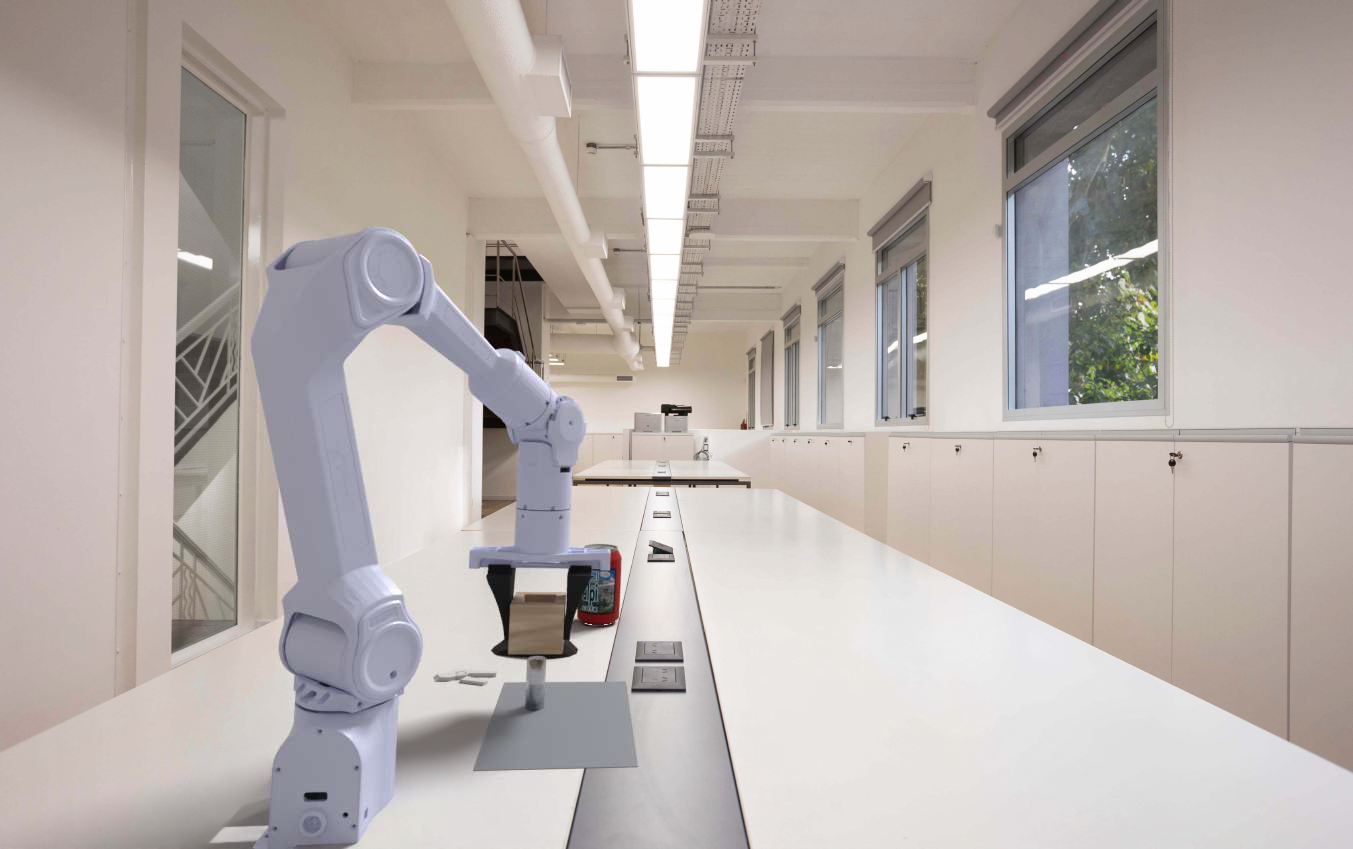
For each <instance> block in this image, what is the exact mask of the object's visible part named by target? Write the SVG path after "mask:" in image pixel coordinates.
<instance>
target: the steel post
mask: <svg viewBox="0 0 1353 849" xmlns="http://www.w3.org/2000/svg"><path fill="white" fill-rule="evenodd" d="M546 669H547V659H546V658H545V657H543V656H532V657H529V658H526V670H525V671H526V672H525V674H526V675H525V676H526V677H525V682H526V693H525V709H527V710H530V711H538V710H541V709H543V708H544V700H545V682H546V675H547V674H546V673H547V670H546Z"/></svg>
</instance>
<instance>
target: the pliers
mask: <svg viewBox="0 0 1353 849" xmlns="http://www.w3.org/2000/svg"><path fill="white" fill-rule="evenodd" d="M497 672H498V670H485V669H475V668H474V669H473V668H467V669H466V668H465V669H464V668H462V669H461V668H459V669H458V668H457V669H454V670H452V671H449V672H447V673H437V674H436V675H434V677H432V678H433V679H434V682H451V681H456V680H459V683H461V684H462V683H463V684H471V685H475V686H476V685H477V686H486V685H487V684H488V683H489V682H488V680H485V679H482V678H481V677H483V678H486V677H487V678H494V677H495V678H496V677H497V674H498V673H497ZM479 677H480V678H479Z"/></svg>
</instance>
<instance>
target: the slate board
mask: <svg viewBox="0 0 1353 849" xmlns="http://www.w3.org/2000/svg"><path fill="white" fill-rule="evenodd" d="M525 693H526V681H523V682H522V681H521V682H520V681H518V682H517V681H515V682H513V681H512V682H511V681H509V682H508V681H507V682H504V683H503V686H502V688H501V691H500V693H499V697H498V699H497V703H496V706H495V707H494V711H493V714H492V716H491V719H490V722H489V725H488V728H487V731H486V733H485V736H484V739H483V742H482V745H481V747H480V751H479V753H478V756H477V758H476V762H475V763H474V767H473V769H472V771H473V772H484V771H485V772H487V771H529V770H530V771H531V770H561V769H562V770H567V769H568V770H569V769H575V770H576V769H608V768H609V769H612V768H615V769H616V768H617V769H618V768H639V764H638V758H637V750H636V743H635V737H634V735H635V734H634V728H633V722H632V714H631V708H630V701H629V694H628V686H627V681H545V700H544V708H543V709H541V710H538V711H530V710H527V709H525Z"/></svg>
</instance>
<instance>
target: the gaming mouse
mask: <svg viewBox="0 0 1353 849" xmlns="http://www.w3.org/2000/svg"><path fill="white" fill-rule="evenodd" d="M508 645H509V640H504V639H503V640H500V642H498V644H495V646H493V647H492V648H491V650H490V651H491V652H492V653H493V655H495V656H500V657H509V658H525V659H527V658H529V657H532V656H543V657H545V658H546V660H547V659H549V660H551V659H552V660H554V659H556V660H557V659H563V658H564V659H565V658H571V657H572V656H575V655H577V653H578V652H579V648H578V647H577V646H576V645H575V644H574V643H573V642H572V641H571V640H564V644H563V652H562V654H508Z"/></svg>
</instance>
